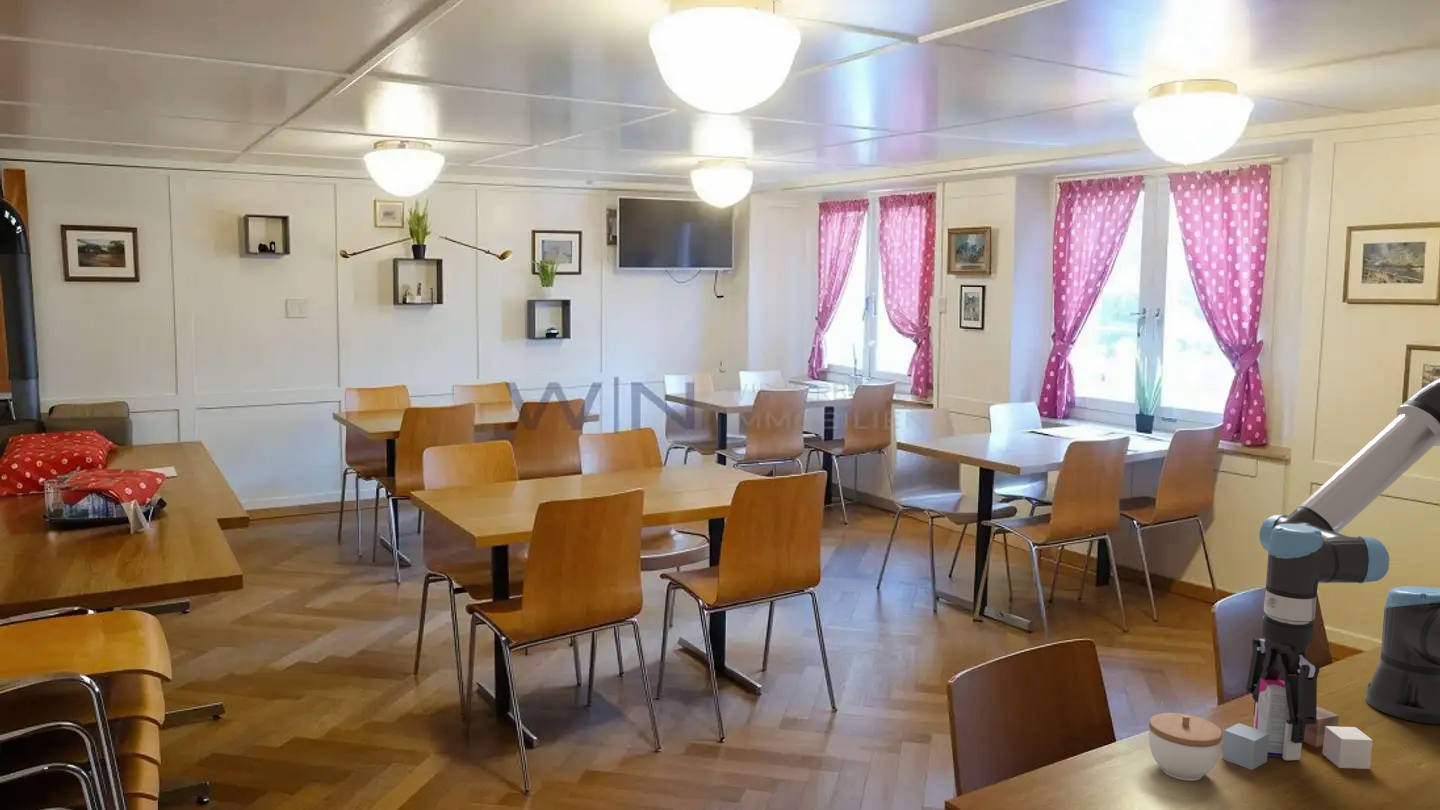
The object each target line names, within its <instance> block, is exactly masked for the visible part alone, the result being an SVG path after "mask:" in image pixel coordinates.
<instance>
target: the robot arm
mask: <svg viewBox="0 0 1440 810" xmlns="http://www.w3.org/2000/svg"><path fill="white" fill-rule="evenodd" d="M1433 447H1440V377H1438V378H1437V379H1435V380H1432V381H1431V382H1429V383H1428V384H1426V385H1425V386H1423V387H1421V388H1420V389H1419V390H1417V391H1416V392H1414V393H1413V394H1412V395H1411V396H1410V397H1409V398H1407V399H1406V401H1405V402H1403V403H1402V404H1401V405H1400V406H1399V407H1398V408H1397V409H1396V417H1395V418H1394V419H1393V420H1392V421H1391V422H1390V423H1388V425H1386V427H1385V428H1383V429H1382V430H1381V431H1380V432H1379V433H1377V435H1376V436H1375V437H1374V438H1372V439H1371V440H1370V441H1369V442H1368V443H1367V444H1366V445H1365V446H1363V447H1362V449H1361V450H1359V451H1358V452H1357V453H1355V455H1354V456H1353V457H1352V458H1350V459H1349V460H1348V461H1347V462H1346V463H1345V464H1344V465H1343V466H1342V467H1340V469H1338V470H1337V471H1336V472H1335V473H1334V474H1333V475H1332V476H1330V478H1329V479H1327V480H1326V481H1325V482H1324V483H1323V484H1322V485H1321V486H1319V488H1317V489H1316V490H1315V491H1314V492H1313V493H1312V494H1311V495H1310V496H1308V498H1306V499H1305V500H1304V501H1303V502H1302V503H1301V504H1300V505H1299V506H1298V507H1297V508H1296V509H1294V510H1293V511H1292V512H1290V514H1289V515H1287V514H1274V515H1272V516H1269V517H1267V518H1266V519H1265V520H1264V522H1263V523H1262V524H1261V526H1260V529H1259V533H1258V536H1259V537H1258V539H1259V542H1260V544H1261V546H1262V548H1263V549H1264V550H1265V552H1267V565H1266V566H1267V567H1266V580H1265V581H1266V582H1265V596H1264V602H1263V603H1264V604H1263V612H1264V613H1265V614H1264V615H1262V621H1261V622H1262V623H1261V632H1260V634H1261V636H1262V637H1263V638H1253V639H1252V641H1251V642H1252V654H1251V660H1250V665H1249V671H1248V676H1247V683H1246V686H1245V687H1246V688H1245V690H1246V692H1247V693H1248V694H1251V695H1252V699H1253V700H1254V701H1253V703H1254V705H1253V726H1252V728H1255V725H1256V716H1257V707H1258V698H1259V688H1260V679H1261V678H1263V679H1265V680H1279V677H1280V678H1281V680H1283V681H1284V682H1285V689H1286V696H1287V703H1288V709H1289V716H1290V720H1286V725H1285V736H1284V746H1283V756H1282V757H1281V759H1283V760H1284V761H1301V755H1302V745H1303V742H1304V733H1305V725H1309V724H1316V713H1317V707H1318V705H1317V697H1318V696H1317V694H1318V693H1317V691H1318V690H1317V688H1318V687H1317V686H1318V685H1317V684H1318V683H1317V682H1318V677H1319V674H1320V673H1319V672H1320V666H1319V664H1312V663H1311V662H1309V660H1308V657H1307V653H1306V652H1307V650H1306V649H1307V648H1308V646H1310V645H1311V644H1312V642H1313V635H1314V634H1313V633H1314V623H1313V622H1312V621H1315V618H1316V606H1317V596H1318V588H1319V584H1349V583H1350V584H1351V583H1356V584H1357V583H1358V584H1364V583H1372V582H1378V581H1380V580H1382V579H1383V578H1385V576H1386V575H1387V574H1388V571H1389V569H1390V567H1389V566H1390V554H1389V552H1388V550H1387V548H1386V546H1385V544H1383V543H1382V541H1380V540H1379V539H1377V538H1375V537H1369V536H1368V537H1367V536H1362V535H1358V536H1349V535H1344V534H1341V533H1340V532H1341V531H1342V530H1343V529H1344V528H1345V527H1346V526H1347V525H1348V524H1350V523H1351V522H1352V521H1353V520H1354V519H1355V518H1356V517H1357V516H1359V515H1360V514H1361V513H1362V512H1363V511H1364V510H1365V509H1366V508H1367V507H1368V506H1369V505H1371V503H1373V501H1375V500H1376V499H1377V498H1378V497H1380V495H1382V494H1383V493H1384V492H1385V491H1386V490H1387V489H1388V488H1390V486H1392V484H1394V482H1396V481H1397V480H1398V479H1399V478H1400V477H1401V476H1402V475H1403V474H1405V473H1406V472H1407V471H1408V470H1409V469H1410V468H1411V467H1412V466H1413V465H1414V464H1416V463H1417V462H1418V461H1419V460H1420V459H1422V457H1424V456H1425V455H1426V453H1428V452H1429V451H1430V450H1431V449H1432V448H1433ZM1383 611H1384V612H1383V623H1382V634H1381V635H1382V636H1381V647H1380V648H1381V649H1380V657H1379V663H1378V665H1377V667H1376V669H1375V671H1374V673H1373V676H1372V679H1371V680H1370V682H1368V684H1367V686H1366V689H1365V701H1366V703H1367V704H1368V705H1369V706H1370V707H1372V708H1374V709H1375V710H1377V711H1379V712H1382V713H1384V714H1387V715H1390V716H1392V717H1395V718H1399V719H1401V720H1402V719H1403V720H1406V721H1411V722H1415V723H1422V724H1428V725H1440V588H1439V587H1432V586H1431V587H1430V586H1417V585H1412V586H1411V585H1405V586H1403V585H1402V586H1396V587H1393V588H1391V589H1389V591H1388V592H1387V596H1386V602H1385V605H1384V609H1383ZM1297 714H1298V716H1297Z"/></svg>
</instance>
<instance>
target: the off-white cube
mask: <svg viewBox="0 0 1440 810" xmlns="http://www.w3.org/2000/svg"><path fill="white" fill-rule="evenodd" d="M1373 742H1374V740H1373V739H1372V738H1370V737H1369V736H1368V735H1367V734H1365V733H1364V732H1363V731H1361V730H1360V729H1358V728H1357V727H1355V726H1338V727H1337V726H1325V733H1324V743H1323V746H1322V755H1323V756H1325V758H1327V760H1328V761H1330V762H1331V763H1333V764H1334V766H1336V767H1338V769H1341V768H1342V769H1362V770H1364V769H1365V770H1369V769H1371V761H1372V760H1371V759H1372V750H1373Z"/></svg>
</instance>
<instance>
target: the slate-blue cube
mask: <svg viewBox="0 0 1440 810" xmlns="http://www.w3.org/2000/svg"><path fill="white" fill-rule="evenodd" d="M1223 731H1224V732H1223V738H1222V739H1223V741H1222V754H1221V759H1222V760H1225V761H1227V762H1231V763H1233V764H1235V765H1238V766H1241V767H1243V768H1247V769H1248V770H1251V771H1253V770H1255V769H1256V768H1258V767H1260V766H1262V765H1264V764H1266V763H1267V761H1268V755H1267V753H1268V742H1269V733H1267V732H1264V731H1261V730H1258V729H1255V728H1253V726H1249V725H1246V724H1243V723H1241V722H1237V723H1236V724H1233V725H1232V726H1230V727H1228V728H1226V729H1224V730H1223Z"/></svg>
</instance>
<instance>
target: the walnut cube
mask: <svg viewBox="0 0 1440 810" xmlns="http://www.w3.org/2000/svg"><path fill="white" fill-rule="evenodd" d="M1339 717H1340V715H1339V714H1337V713H1334V712H1331V711H1330V710H1327V709H1325V708H1322V707H1319V706H1317V713H1316V724H1309V725H1305V733H1304V741H1303V742H1304V743H1306V744H1308V745H1310V746H1312V747H1315V748H1319V747H1323V743H1324V733H1325V726H1337V727H1339V719H1340V718H1339Z"/></svg>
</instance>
